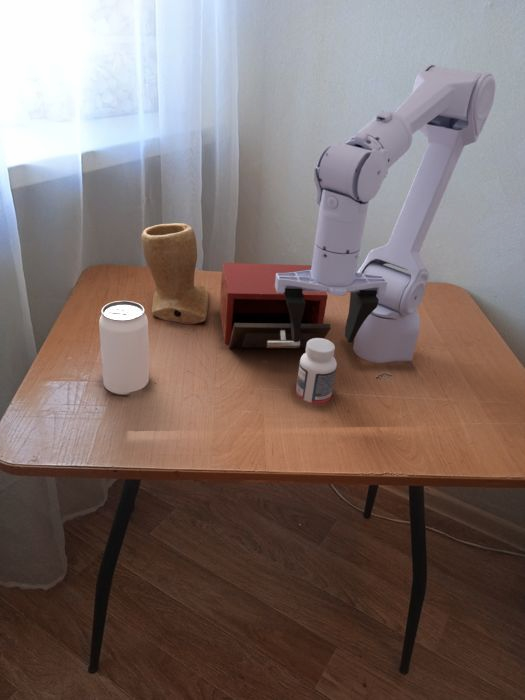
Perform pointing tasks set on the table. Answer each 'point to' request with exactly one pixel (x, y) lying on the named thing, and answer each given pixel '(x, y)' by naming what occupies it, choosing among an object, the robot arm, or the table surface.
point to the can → (124, 347)
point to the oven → (262, 296)
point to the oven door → (273, 335)
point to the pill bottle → (317, 371)
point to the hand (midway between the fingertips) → (322, 338)
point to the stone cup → (174, 273)
